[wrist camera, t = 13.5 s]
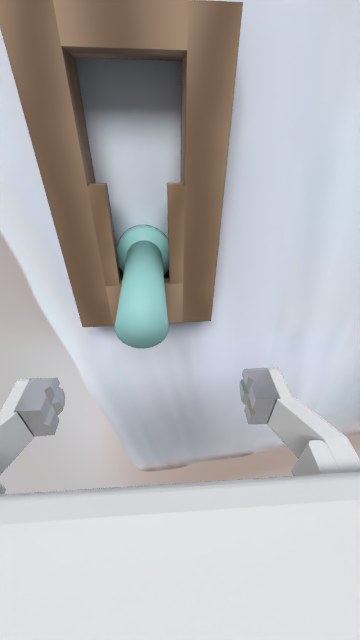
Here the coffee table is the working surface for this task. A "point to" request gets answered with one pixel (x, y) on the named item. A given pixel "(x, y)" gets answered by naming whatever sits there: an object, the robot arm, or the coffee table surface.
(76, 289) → the keyhole plate
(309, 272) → the coffee table surface
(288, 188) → the coffee table surface
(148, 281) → the peg
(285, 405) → the robot arm
